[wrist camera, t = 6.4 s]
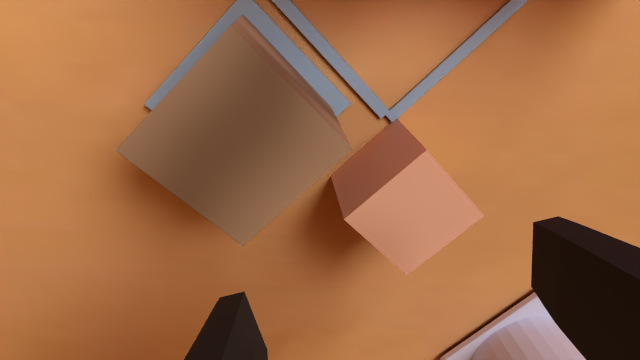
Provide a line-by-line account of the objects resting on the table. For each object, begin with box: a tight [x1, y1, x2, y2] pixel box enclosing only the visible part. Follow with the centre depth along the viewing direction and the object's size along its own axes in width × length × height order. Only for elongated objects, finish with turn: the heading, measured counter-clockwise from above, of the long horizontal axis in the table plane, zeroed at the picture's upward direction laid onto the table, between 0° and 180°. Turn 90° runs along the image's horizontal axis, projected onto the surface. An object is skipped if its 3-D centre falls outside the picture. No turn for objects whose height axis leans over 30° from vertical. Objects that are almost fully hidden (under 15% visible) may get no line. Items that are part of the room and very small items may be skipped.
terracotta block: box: [331, 119, 484, 275], centre depth 17 cm, size 4×4×4 cm
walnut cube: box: [115, 15, 352, 246], centre depth 14 cm, size 5×5×5 cm
